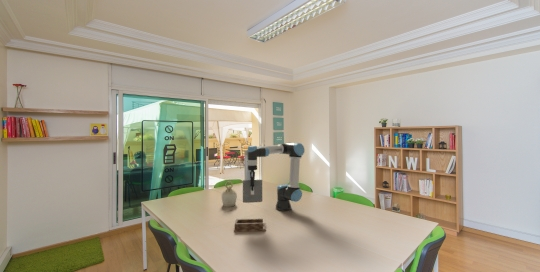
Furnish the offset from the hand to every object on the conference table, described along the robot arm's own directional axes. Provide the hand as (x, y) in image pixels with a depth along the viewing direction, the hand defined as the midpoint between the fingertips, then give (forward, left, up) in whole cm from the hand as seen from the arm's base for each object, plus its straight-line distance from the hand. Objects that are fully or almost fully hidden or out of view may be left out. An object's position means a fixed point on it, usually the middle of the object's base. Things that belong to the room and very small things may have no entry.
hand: (252, 193), depth 189 cm
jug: (+27, -53, -26) cm, 65 cm away
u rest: (+2, +7, -25) cm, 26 cm away
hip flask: (0, 0, -7) cm, 7 cm away
